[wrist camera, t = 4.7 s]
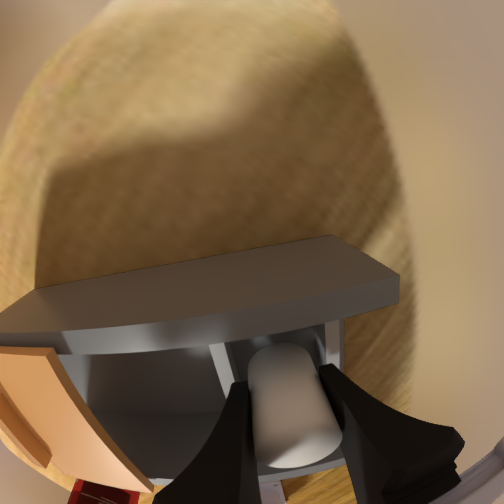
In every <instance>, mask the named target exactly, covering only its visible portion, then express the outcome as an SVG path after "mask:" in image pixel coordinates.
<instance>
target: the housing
mask: <svg viewBox="0 0 504 504" xmlns="http://www.w3.org/2000/svg"><path fill="white" fill-rule="evenodd" d="M399 284H400V275H399V274H398V273H396V272H394V271H393V270H391V269H390V268H388V267H386V266H385V265H383V264H382V263H380V262H378V261H377V260H375V259H374V258H372V257H370V256H369V255H367V254H365V253H364V252H362V251H360V250H359V249H357V248H355V247H354V246H352V245H350V244H348V243H347V242H345V241H343V240H342V239H340V238H338V237H336V236H335V235H328V236H322V237H317V238H311V239H306V240H300V241H294V242H289V243H283V244H278V245H272V246H267V247H261V248H256V249H250V250H244V251H239V252H233V253H228V254H222V255H217V256H211V257H206V258H200V259H195V260H189V261H184V262H178V263H173V264H168V265H162V266H157V267H151V268H146V269H140V270H135V271H129V272H124V273H119V274H113V275H108V276H102V277H97V278H92V279H86V280H81V281H75V282H70V283H65V284H59V285H54V286H49V287H43V288H38V289H34V290H32V291H31V292H29V293H28V294H26V295H25V296H23V297H22V298H20V299H19V300H18V301H16V302H15V303H13V304H12V305H10V306H9V307H8V308H6V309H5V310H4V311H2V312H1V313H0V346H7V347H40V348H54V350H55V352H56V354H57V356H58V358H59V360H60V361H61V363H62V365H63V367H64V369H65V370H66V372H67V374H68V376H69V377H70V379H71V381H72V383H73V384H74V386H75V387H76V389H77V391H78V392H79V394H80V395H81V397H82V399H83V400H84V402H85V403H86V405H87V406H88V408H89V409H90V410H91V412H92V413H93V415H94V416H95V418H96V419H97V420H98V422H99V423H100V424H101V426H102V427H103V428H104V430H105V431H106V432H107V434H108V435H109V436H110V437H111V439H112V440H113V441H114V442H115V443H116V445H117V446H118V447H119V448H120V449H121V451H122V452H123V453H124V454H125V455H126V456H127V458H128V459H129V460H130V461H131V462H132V463H133V464H134V465H135V466H136V467H137V468H138V469H139V471H140V472H141V473H142V474H143V475H144V476H145V477H146V478H147V479H148V480H149V481H150V482H151V483H152V484H154V485H166V486H167V485H168V484H169V483H171V482H172V481H173V480H174V479H175V478H176V477H177V476H178V475H179V474H180V473H181V472H182V471H183V470H184V469H185V468H186V467H187V466H188V465H189V464H190V462H191V461H192V460H193V459H194V457H195V456H196V455H197V454H198V452H199V451H200V450H201V448H202V447H203V445H204V444H205V442H206V441H207V439H208V437H209V436H210V434H211V432H212V430H213V429H214V427H215V425H216V423H217V421H218V419H219V417H220V414H221V412H222V410H223V407H224V405H225V402H226V400H227V397H228V394H229V390H230V386H231V384H232V383H233V382H240V381H247V385H248V388H249V383H248V364H249V361H250V360H251V358H252V357H253V355H254V354H255V353H256V352H258V351H259V350H260V349H262V348H264V347H266V346H268V345H271V344H275V343H282V342H287V343H294V344H297V345H299V346H301V347H303V348H304V349H306V351H307V352H308V353H309V355H310V357H311V359H312V362H313V364H314V366H315V369H316V371H317V374H318V376H319V366H322V365H325V364H329V363H333V364H334V365H335V366H336V367H337V368H338V369H339V370H340V371H341V372H342V373H344V318H347V317H351V316H355V315H359V314H362V313H366V312H370V311H373V310H377V309H380V308H384V307H387V306H390V305H393V304H397V303H399ZM343 465H346V461H345V458H344V455H343V453H342V450H341V448H340V446H338V447H337V448H336V449H335V450H334V451H333V452H332V453H331V454H329V455H328V456H326V457H325V458H323V459H321V460H319V461H317V462H314V463H311V464H308V465H305V466H300V467H294V468H276V467H270V466H267V465H265V464H263V463H261V462H259V461H258V460H257V471H258V480H259V483H264V482H271V481H278V480H284V479H289V478H294V477H299V476H304V475H309V474H313V473H317V472H321V471H325V470H329V469H332V468H336V467H339V466H343Z"/></svg>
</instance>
